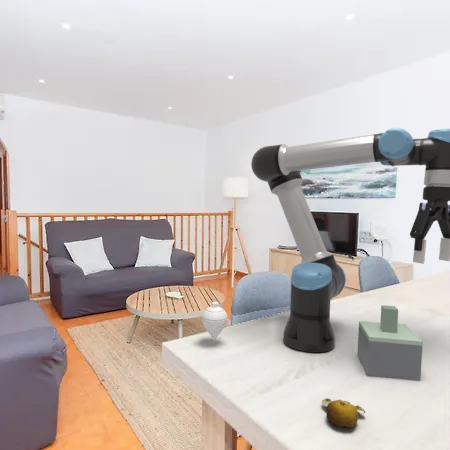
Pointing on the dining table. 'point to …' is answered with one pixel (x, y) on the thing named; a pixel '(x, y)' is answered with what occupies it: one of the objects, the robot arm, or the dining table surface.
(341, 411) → the fruit
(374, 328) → the lid
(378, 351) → the storage box
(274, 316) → the dining table surface
